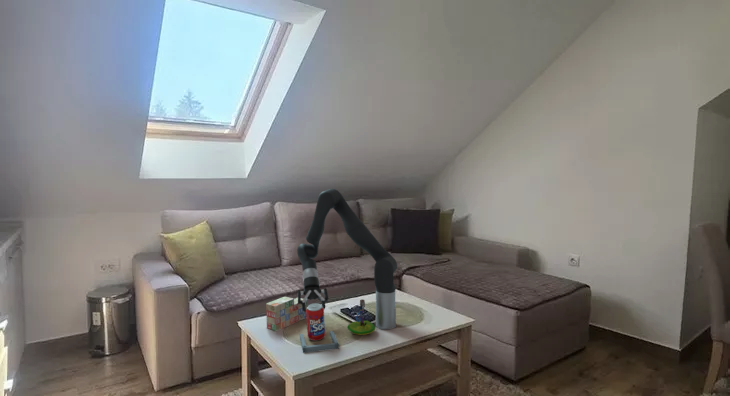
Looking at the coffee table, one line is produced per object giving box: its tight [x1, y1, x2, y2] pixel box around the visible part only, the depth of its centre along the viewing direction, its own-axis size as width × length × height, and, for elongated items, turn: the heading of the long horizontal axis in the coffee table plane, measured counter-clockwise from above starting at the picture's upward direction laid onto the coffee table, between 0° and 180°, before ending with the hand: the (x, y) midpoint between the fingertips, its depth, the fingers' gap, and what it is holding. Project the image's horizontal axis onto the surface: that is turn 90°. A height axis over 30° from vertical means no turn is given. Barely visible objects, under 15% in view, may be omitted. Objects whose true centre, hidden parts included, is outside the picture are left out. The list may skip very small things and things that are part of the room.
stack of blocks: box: [265, 296, 308, 332], centre depth 212 cm, size 21×6×12 cm, turn 145°
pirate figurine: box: [346, 299, 376, 336], centre depth 199 cm, size 14×13×15 cm
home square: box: [299, 330, 340, 353], centre depth 189 cm, size 15×14×2 cm
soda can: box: [305, 302, 326, 342], centre depth 193 cm, size 8×8×15 cm
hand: (314, 310), depth 204 cm, fingers open, 8 cm apart
